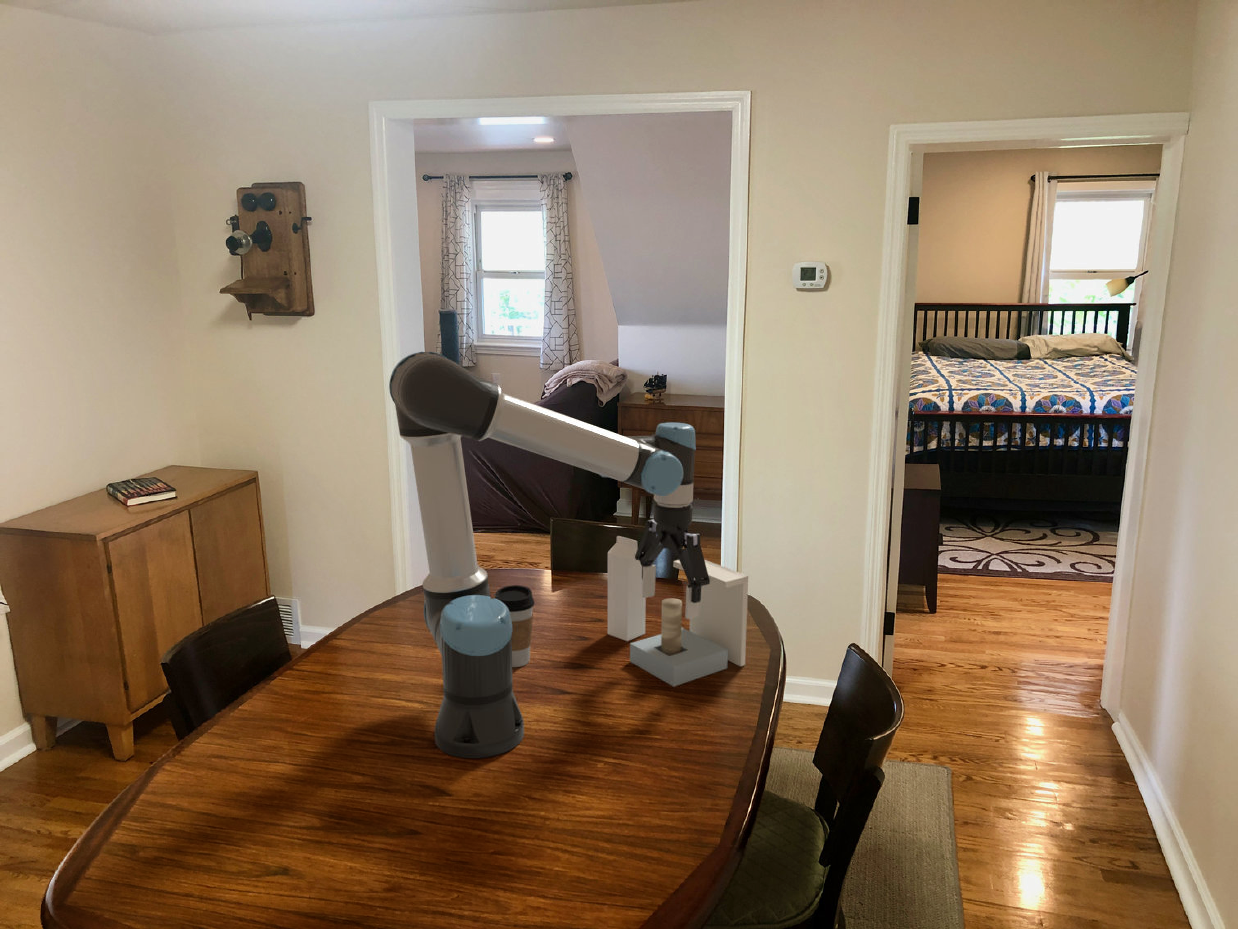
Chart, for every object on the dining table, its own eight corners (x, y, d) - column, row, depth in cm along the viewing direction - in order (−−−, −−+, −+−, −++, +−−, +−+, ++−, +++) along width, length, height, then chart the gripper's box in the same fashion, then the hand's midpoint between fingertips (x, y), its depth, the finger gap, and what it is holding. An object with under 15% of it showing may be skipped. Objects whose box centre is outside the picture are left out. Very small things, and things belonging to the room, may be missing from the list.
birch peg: (669, 673, 177) (670, 607, 174) (656, 666, 180) (657, 601, 177) (684, 668, 179) (686, 602, 177) (672, 661, 183) (673, 596, 180)
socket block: (673, 686, 171) (673, 667, 171) (630, 661, 183) (630, 643, 182) (727, 668, 180) (727, 649, 179) (682, 645, 191) (682, 627, 190)
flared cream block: (723, 672, 178) (725, 582, 174) (672, 646, 190) (673, 561, 186) (745, 665, 181) (748, 576, 177) (693, 639, 194) (695, 555, 190)
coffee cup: (539, 653, 186) (537, 585, 183) (531, 671, 178) (529, 600, 175) (499, 651, 187) (497, 584, 184) (489, 669, 179) (487, 598, 176)
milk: (627, 642, 193) (627, 544, 188) (607, 634, 197) (606, 538, 192) (645, 633, 197) (646, 538, 192) (625, 626, 201) (625, 532, 196)
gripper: (731, 514, 165) (726, 622, 169) (649, 488, 185) (645, 585, 189) (701, 519, 161) (696, 630, 165) (619, 492, 180) (617, 591, 185)
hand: (669, 606), depth 177 cm, fingers open, 13 cm apart
